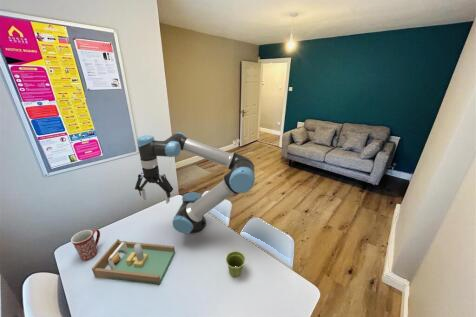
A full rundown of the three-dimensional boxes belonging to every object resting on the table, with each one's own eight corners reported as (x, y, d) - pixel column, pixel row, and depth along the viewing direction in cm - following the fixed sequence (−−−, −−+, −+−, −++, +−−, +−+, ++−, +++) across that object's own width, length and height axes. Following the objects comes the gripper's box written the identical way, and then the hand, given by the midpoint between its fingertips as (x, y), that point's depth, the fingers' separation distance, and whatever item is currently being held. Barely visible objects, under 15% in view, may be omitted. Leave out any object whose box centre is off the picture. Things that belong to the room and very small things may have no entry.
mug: (86, 264, 99) (78, 245, 94) (74, 259, 102) (66, 239, 97) (109, 246, 110) (103, 227, 105) (97, 241, 113) (91, 223, 108)
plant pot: (247, 266, 100) (247, 254, 97) (241, 283, 92) (241, 270, 88) (230, 261, 103) (230, 249, 99) (223, 276, 94) (222, 264, 91)
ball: (115, 254, 104) (123, 253, 103) (111, 265, 101) (119, 264, 100) (108, 252, 100) (116, 251, 99) (104, 263, 97) (112, 262, 96)
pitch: (175, 253, 107) (173, 240, 103) (159, 284, 90) (156, 271, 87) (119, 247, 110) (116, 235, 106) (95, 277, 93) (89, 263, 90)
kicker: (148, 257, 101) (144, 241, 97) (141, 267, 96) (137, 250, 92) (133, 255, 102) (129, 239, 98) (126, 265, 97) (121, 249, 92)
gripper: (176, 164, 100) (180, 198, 108) (131, 161, 102) (138, 195, 111) (170, 170, 93) (175, 207, 101) (122, 167, 96) (130, 203, 104)
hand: (156, 201), depth 106 cm, fingers open, 13 cm apart
